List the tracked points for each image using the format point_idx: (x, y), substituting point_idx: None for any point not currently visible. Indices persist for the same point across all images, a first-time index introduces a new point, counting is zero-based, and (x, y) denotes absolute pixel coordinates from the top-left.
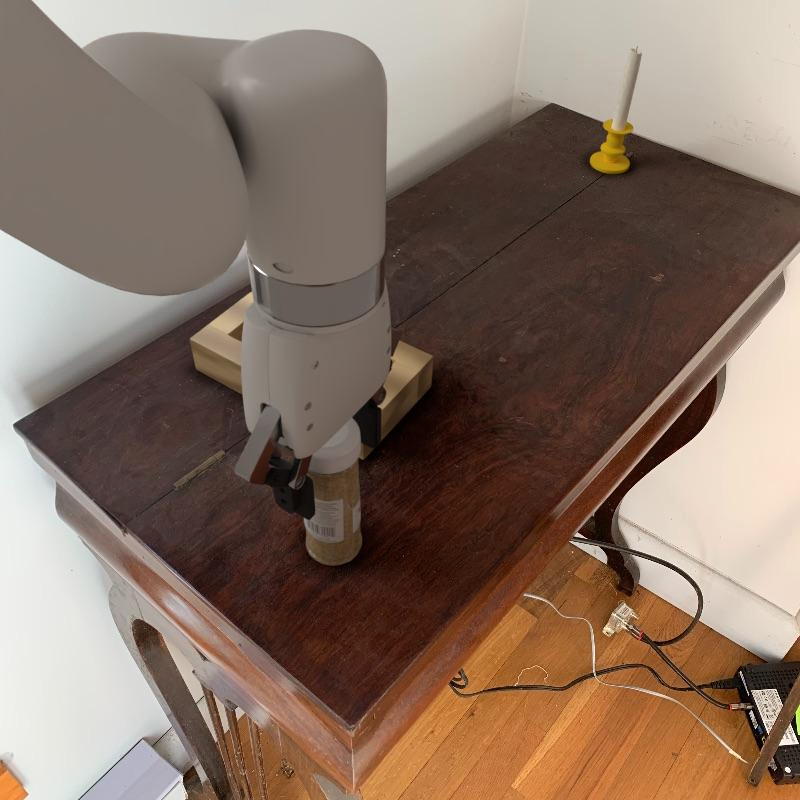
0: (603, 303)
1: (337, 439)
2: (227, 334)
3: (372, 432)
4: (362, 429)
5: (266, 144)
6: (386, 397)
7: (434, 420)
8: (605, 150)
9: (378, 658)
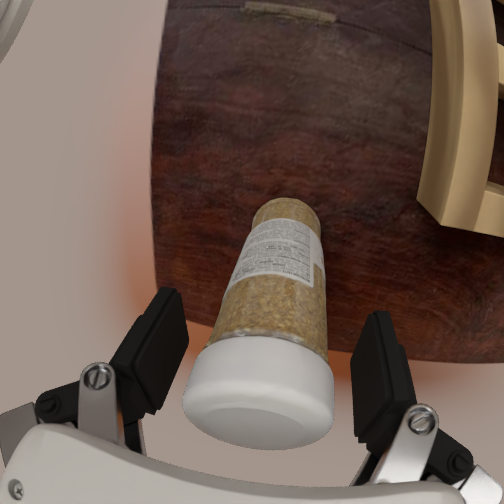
0: None
1: (248, 439)
2: None
3: (354, 392)
4: (360, 375)
5: None
6: (495, 227)
7: (484, 246)
8: None
9: (207, 312)
